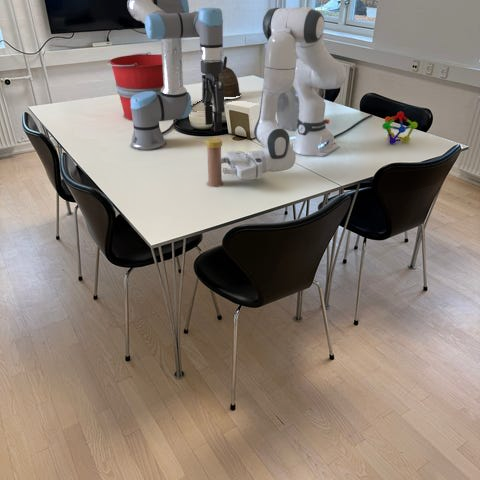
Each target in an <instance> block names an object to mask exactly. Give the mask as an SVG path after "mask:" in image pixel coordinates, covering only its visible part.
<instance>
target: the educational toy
mask: <svg viewBox="0 0 480 480" xmlns="http://www.w3.org/2000/svg"><path fill="white" fill-rule="evenodd" d="M397 119H399V124H400V125H399V127H398V126H393V125H391V124H392V123H394V122H395V121H396V120H397ZM403 120H404V121H405V122H407V123H408V124H409V125H407V126H404V123H403ZM417 127H418V122H417V121H411V120H410V119H409V118H408V117H406V116H405V113H404V112H403V111H401V110H400V111H398V112H397V114H396V115H394V116H391V117H390V116H386V117H385V118H384V122H383V123H382V129H383V130H386V132H387V138H388V142H389V145H395V144H396V143H397V142H402V141H403V142H404V143H409V142H410V140H411V138H410V136H411V134H412V132H413V131H414V130H415V129H417ZM392 129H393V130H397V131H398V132H396V134H395V133H394V132H392ZM408 129H409V131H408V133H407V134H406V135H404V136H401V134H403V133H405V132H406V130H408ZM399 135H400V136H399Z"/></svg>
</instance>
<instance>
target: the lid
mask: <svg viewBox="0 0 480 480" xmlns="http://www.w3.org/2000/svg"><path fill="white" fill-rule="evenodd" d="M205 146H206V148H207V147H209V148H219V147H221V148H222V146H223V139H222V138H220V137H208V138H206V139H205Z"/></svg>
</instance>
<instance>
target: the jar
mask: <svg viewBox="0 0 480 480" xmlns="http://www.w3.org/2000/svg"><path fill="white" fill-rule="evenodd" d="M206 151H207V152H206V153H207V180H208V181H207V182H208V183H207V184H208V185H209V186H211V187H220V186H222V185H223V180H222V179H223V178H222V177H223V176H222V173H223V170H222V164H221V158H222V146H221V147H219V148H209V147H207V146H206Z"/></svg>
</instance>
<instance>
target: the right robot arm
mask: <svg viewBox="0 0 480 480" xmlns="http://www.w3.org/2000/svg"><path fill="white" fill-rule="evenodd" d="M324 29H325V17H324V15H323V14H322V13H321V11H319V10H316V9H314V8H312V7H310V6H302V7H273V8H270V9H268V10H267V11H266V13H265V14H264V16H263V19H262V33H263V35H264V36H265V39H266V40H267V44H266V48H265V49H266V50H265V56H264V66H263V70H264V71H263V85H262V90H261V91H262V92H261V99H260V108H259V116H258V119H257V122H256V123H255V126H254V129H253V135H254V138H255V140H256V141H257V142H258V143H259V144H261V145H262V146H263V149H262V150H261V149H260V150H252V151H248V152H247V153H245V152H244V151H242V150H240V151H239V150H237V151H236V150H235V151H227V152H225V154H224V155H225V156H223V157H221V165H222V164H227V165H228V166H229V167H230V168H228V167H223V168H222V173H223V174H224V175H232V176H235V175H236V177H237V178H238V179H240V180H253V179H257V180H260V179H263V174H266V173H269V172H270V173H278V172H284V171H287V170H290V169H291V168H293V167H294V165H295V163H296V160H297V159H296V158H297V155H296V154H299V155H302V156H313V157H314V156H316V157H317V156H319V157H325V156H327V155H328V154H330V153H332V152H334V151H335V150H336V149H338V148H339V144H338V143H337V142H335V139H336V138H338V137H339V136H341V135H343V134H345V133H347V132H348V131H350V130H352V129H353V128H355V127H356V126H357V125H359V124H360V123H362V122H363V121H365V120H367V119H369V118H371V117H373V114H369V115H367V116H365V117H363V118H362V119H360V120H358V121H357V122H356V123H353V125H351V126H350V127H348V128H346V129H345V130H343V131H342V132H339V133H337V134H335V135H334V133H333V132H331V131H330V130H329V129H328V128H327V125H330V122H331V120H330V119H327V118H325V113H326V112H325V111H326V101H325V99H324V100H323V96H322V97H320V96H319V95H318V94H317V93H316V91H315V88H322V89H325V90H335V89H336V90H337V89H340V88H341V87H342V86H343V84H344V83H345V81H346V78H347V69H346V67H345V65H344V64H343V63H341V62H339V61H338V60H337V59H336V58H334V57H333V55H332V54H330V52H329V51H328V48H327V47H326V44H325V39H324V31H325V30H324ZM292 86H293V87H294V88H295V90H296V92H297V95H298V99H299V118H298V120H297V129H296V130H295V134H294V136H291V137H290V134H289V133H288V131H287V130H286V129H284V128H282V127H280V126H279V125H278V121H277V113H276V110H277V102H278V98H279V96H280V94H282V93H284V92H286V91H287V90H289V89H290V88H291V87H292ZM293 139H294V140H293ZM290 140H293V142H292V144H291V141H290Z"/></svg>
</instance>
